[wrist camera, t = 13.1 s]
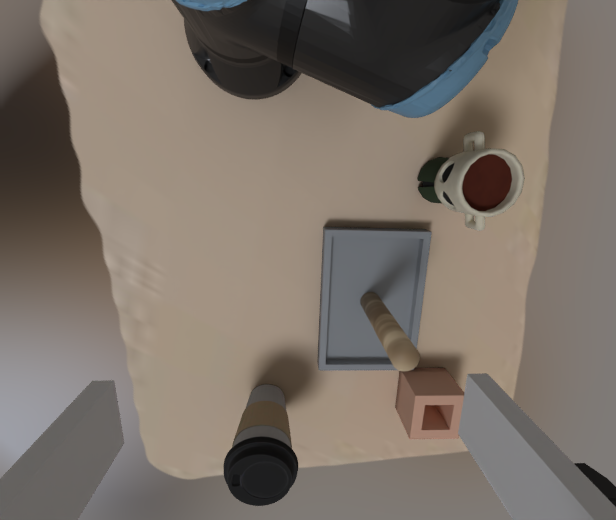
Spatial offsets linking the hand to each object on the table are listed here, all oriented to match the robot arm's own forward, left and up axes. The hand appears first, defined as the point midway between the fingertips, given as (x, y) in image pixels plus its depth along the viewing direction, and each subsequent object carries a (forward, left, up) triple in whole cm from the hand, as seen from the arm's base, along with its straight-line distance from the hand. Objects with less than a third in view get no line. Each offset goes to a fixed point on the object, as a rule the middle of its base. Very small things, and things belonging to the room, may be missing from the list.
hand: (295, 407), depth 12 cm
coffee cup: (+28, -3, -37) cm, 46 cm away
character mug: (-8, +21, -37) cm, 43 cm away
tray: (+10, +12, -37) cm, 40 cm away
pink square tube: (+26, +22, -37) cm, 50 cm away
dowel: (+10, +12, -36) cm, 39 cm away
